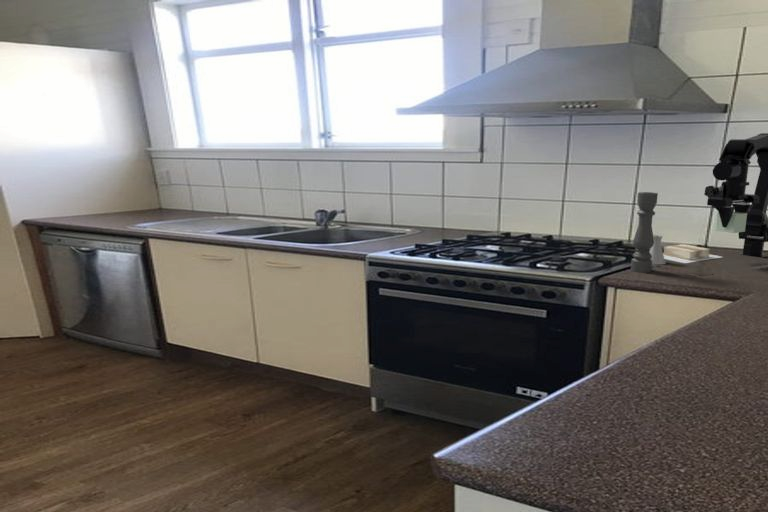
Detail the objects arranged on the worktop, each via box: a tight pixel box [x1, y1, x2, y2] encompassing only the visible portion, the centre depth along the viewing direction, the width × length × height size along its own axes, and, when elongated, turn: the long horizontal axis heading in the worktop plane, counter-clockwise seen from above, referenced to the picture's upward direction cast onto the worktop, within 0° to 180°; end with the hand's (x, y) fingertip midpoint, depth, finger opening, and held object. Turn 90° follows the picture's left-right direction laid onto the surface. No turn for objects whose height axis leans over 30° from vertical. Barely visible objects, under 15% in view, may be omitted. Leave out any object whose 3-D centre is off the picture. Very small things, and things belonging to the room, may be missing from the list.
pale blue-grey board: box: [663, 252, 722, 264], centre depth 193 cm, size 20×14×1 cm
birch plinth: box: [663, 243, 711, 260], centre depth 193 cm, size 10×10×3 cm
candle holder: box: [630, 191, 659, 273], centre depth 176 cm, size 6×6×25 cm
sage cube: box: [715, 211, 747, 234], centre depth 181 cm, size 6×6×6 cm
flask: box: [649, 234, 667, 268], centre depth 184 cm, size 7×7×10 cm
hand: (730, 226), depth 181 cm, fingers closed on sage cube, 6 cm apart
